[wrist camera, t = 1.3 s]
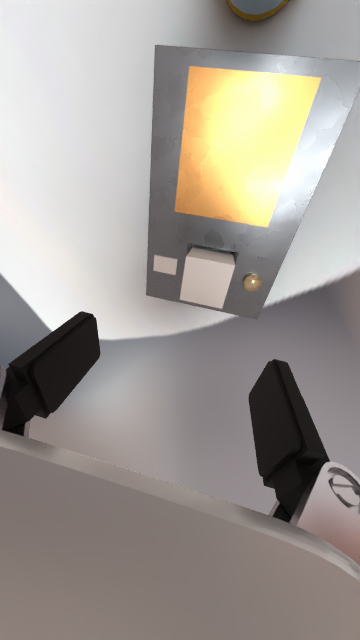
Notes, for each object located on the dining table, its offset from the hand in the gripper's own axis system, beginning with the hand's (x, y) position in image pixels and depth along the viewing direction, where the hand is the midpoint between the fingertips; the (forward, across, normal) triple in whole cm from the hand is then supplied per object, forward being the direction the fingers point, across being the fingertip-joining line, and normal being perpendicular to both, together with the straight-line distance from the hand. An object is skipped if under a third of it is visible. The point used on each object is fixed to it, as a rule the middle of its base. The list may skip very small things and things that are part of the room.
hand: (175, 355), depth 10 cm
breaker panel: (+19, -1, -6) cm, 20 cm away
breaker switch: (+17, -1, 0) cm, 17 cm away
